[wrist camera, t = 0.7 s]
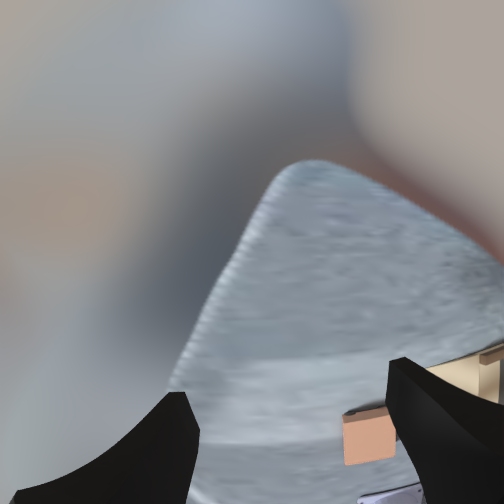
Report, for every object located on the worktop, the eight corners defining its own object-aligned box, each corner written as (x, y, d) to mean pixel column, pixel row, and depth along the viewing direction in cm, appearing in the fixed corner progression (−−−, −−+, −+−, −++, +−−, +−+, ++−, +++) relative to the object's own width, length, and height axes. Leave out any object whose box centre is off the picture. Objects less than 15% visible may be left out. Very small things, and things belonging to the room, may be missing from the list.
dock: (522, 412, 20) (535, 419, 17) (416, 455, 23) (423, 468, 20) (526, 331, 22) (541, 332, 19) (416, 368, 25) (426, 375, 22)
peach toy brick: (389, 444, 24) (394, 456, 21) (343, 452, 25) (345, 465, 22) (389, 404, 25) (395, 413, 22) (341, 412, 26) (343, 423, 23)
